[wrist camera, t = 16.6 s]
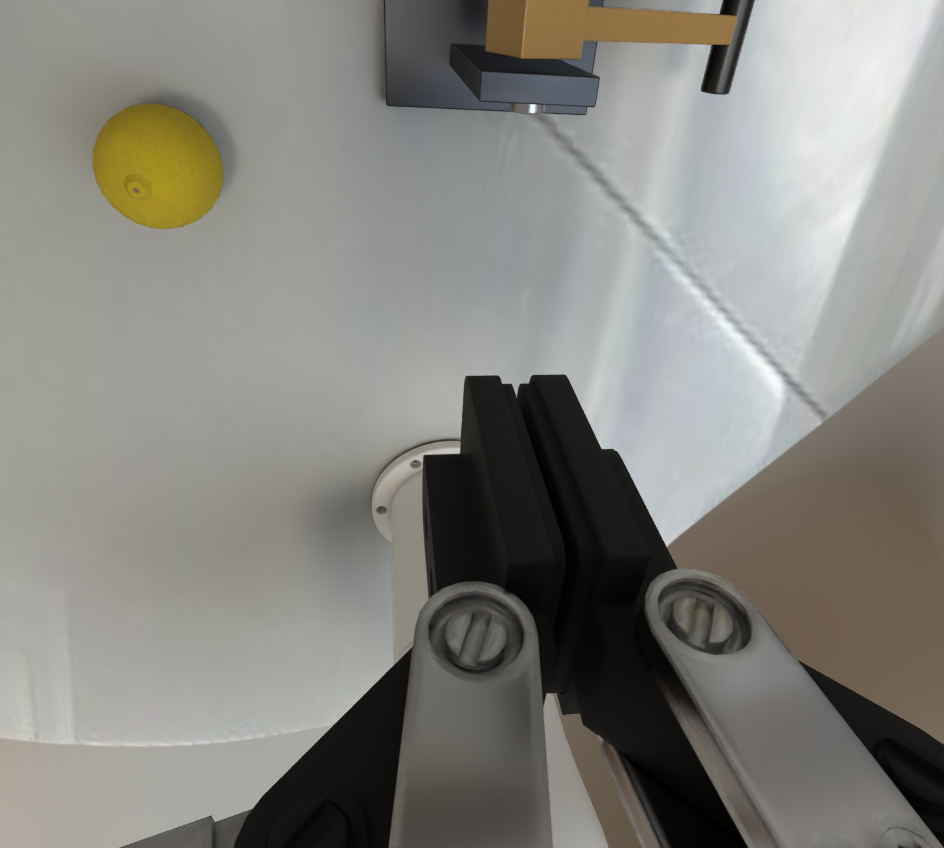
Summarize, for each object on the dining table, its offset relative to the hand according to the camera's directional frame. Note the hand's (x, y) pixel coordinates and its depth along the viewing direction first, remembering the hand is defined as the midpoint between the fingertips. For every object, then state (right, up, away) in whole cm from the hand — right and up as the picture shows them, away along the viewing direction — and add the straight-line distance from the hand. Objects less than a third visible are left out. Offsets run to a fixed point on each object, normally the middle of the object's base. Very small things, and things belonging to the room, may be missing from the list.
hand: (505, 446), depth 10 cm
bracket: (0, +22, +20) cm, 30 cm away
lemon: (-16, +16, +23) cm, 32 cm away
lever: (+6, +17, +15) cm, 23 cm away
